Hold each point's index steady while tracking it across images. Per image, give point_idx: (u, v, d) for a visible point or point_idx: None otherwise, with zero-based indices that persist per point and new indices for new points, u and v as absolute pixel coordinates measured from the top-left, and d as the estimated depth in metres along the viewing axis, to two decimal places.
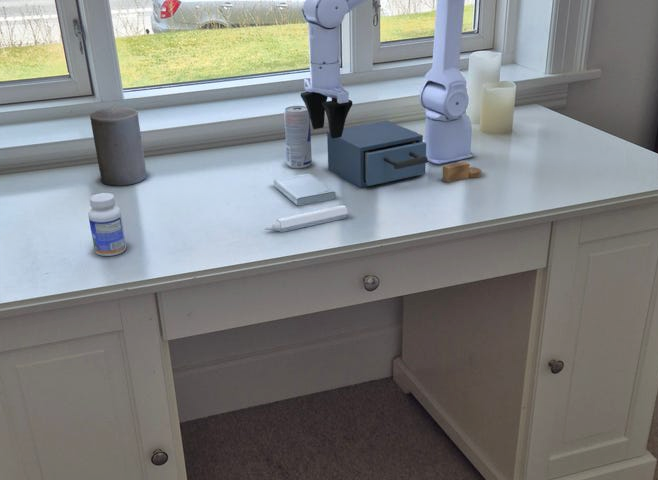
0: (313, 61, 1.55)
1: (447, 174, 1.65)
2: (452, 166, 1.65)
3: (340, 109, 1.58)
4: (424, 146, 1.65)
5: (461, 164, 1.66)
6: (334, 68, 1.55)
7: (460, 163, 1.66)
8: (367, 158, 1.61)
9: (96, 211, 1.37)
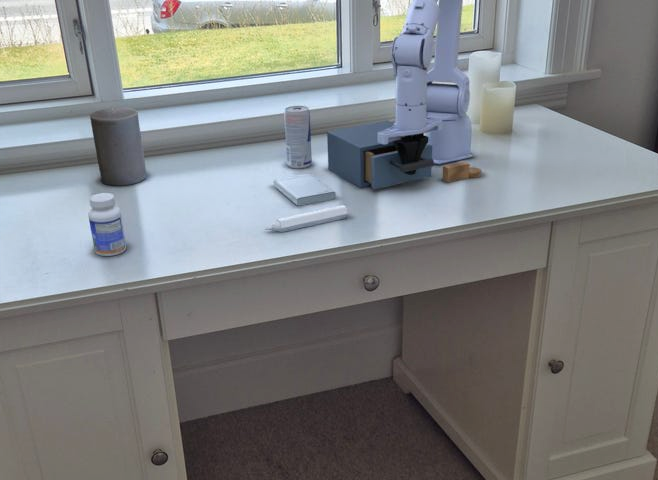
0: (409, 104, 1.51)
1: (447, 174, 1.65)
2: (452, 166, 1.65)
3: None
4: (430, 149, 1.63)
5: (461, 164, 1.66)
6: (401, 110, 1.53)
7: (460, 163, 1.66)
8: (373, 161, 1.59)
9: (96, 211, 1.37)
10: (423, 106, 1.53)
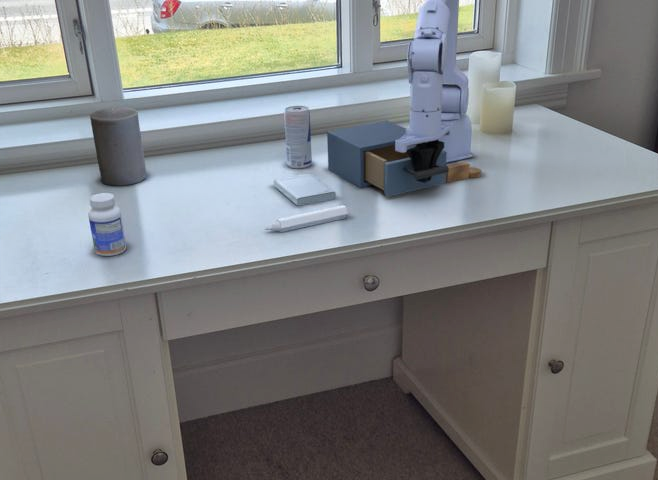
0: (427, 110, 1.48)
1: (447, 174, 1.65)
2: (452, 166, 1.65)
3: None
4: (444, 155, 1.60)
5: (461, 164, 1.66)
6: (418, 117, 1.49)
7: (460, 163, 1.66)
8: (386, 168, 1.55)
9: (96, 211, 1.37)
10: (440, 112, 1.49)
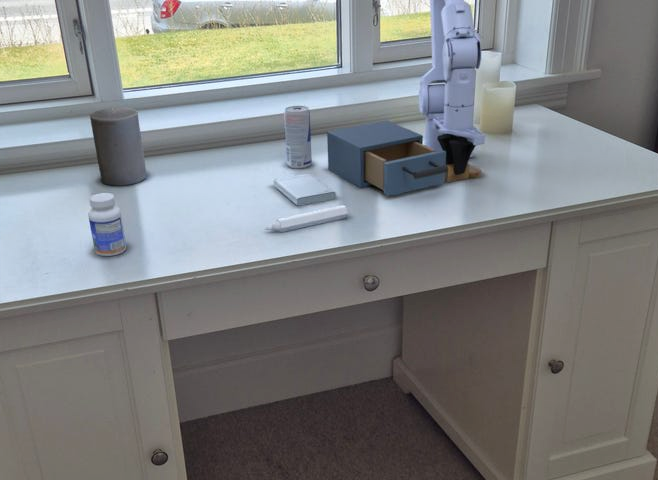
0: (466, 104, 1.57)
1: (447, 174, 1.65)
2: (452, 166, 1.65)
3: (465, 146, 1.63)
4: (444, 155, 1.60)
5: None
6: (470, 111, 1.58)
7: None
8: (386, 168, 1.55)
9: (96, 211, 1.37)
10: None
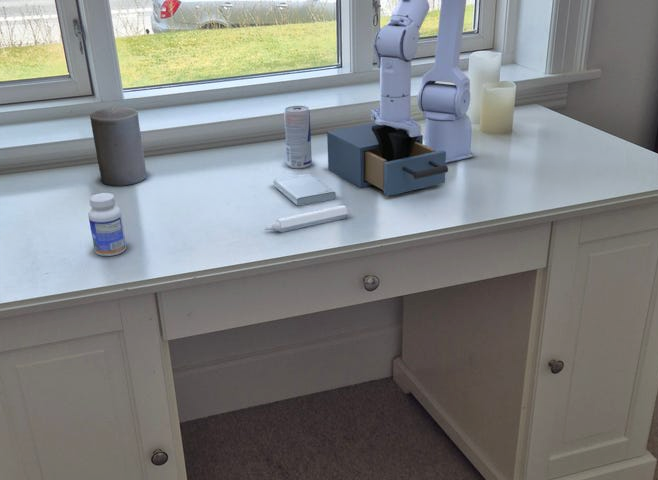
0: (391, 95, 1.52)
1: None
2: None
3: (406, 139, 1.57)
4: (444, 155, 1.60)
5: None
6: (405, 101, 1.53)
7: None
8: (386, 168, 1.55)
9: (96, 211, 1.37)
10: None
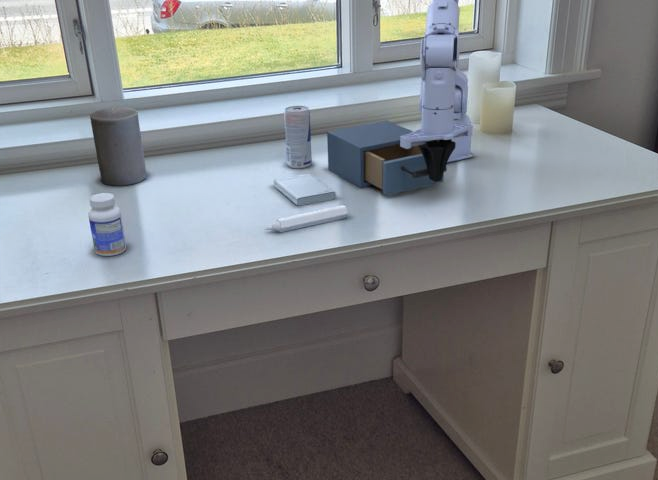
0: (441, 107, 1.44)
1: None
2: None
3: None
4: None
5: None
6: None
7: None
8: (384, 167, 1.56)
9: (96, 211, 1.37)
10: None
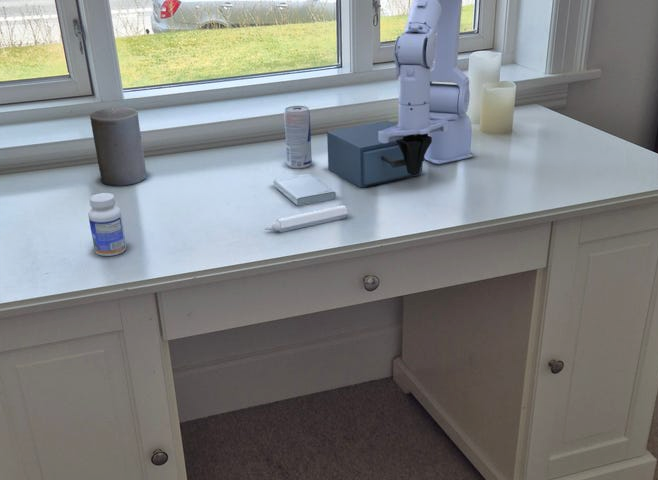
0: (413, 103, 1.51)
1: None
2: None
3: None
4: None
5: None
6: None
7: None
8: (365, 157, 1.61)
9: (96, 211, 1.37)
10: None
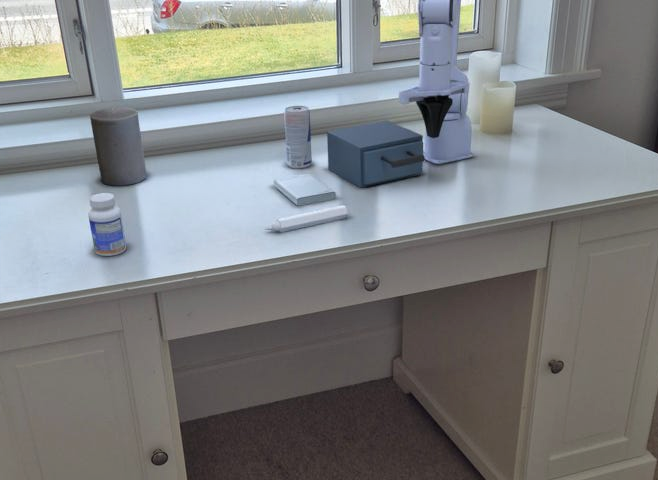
0: (437, 63, 1.48)
1: None
2: None
3: None
4: (421, 145, 1.66)
5: None
6: None
7: None
8: (365, 157, 1.61)
9: (96, 211, 1.37)
10: None
